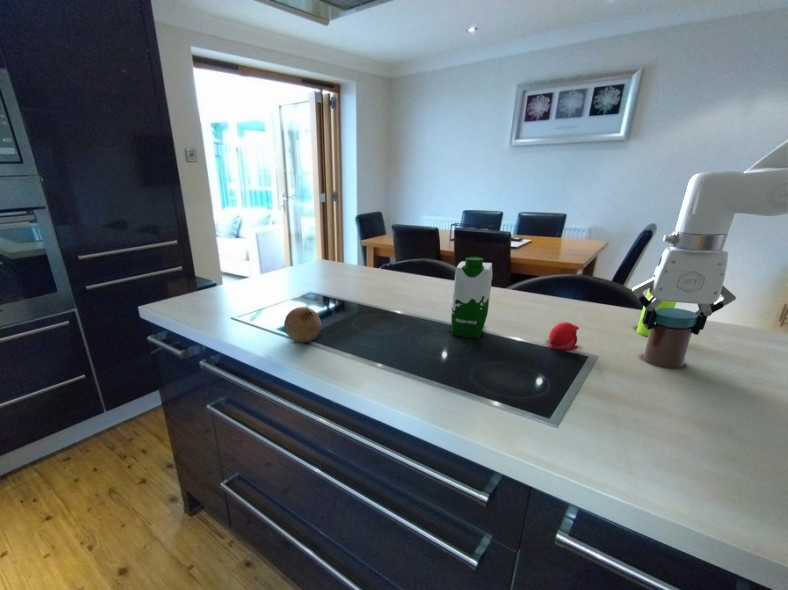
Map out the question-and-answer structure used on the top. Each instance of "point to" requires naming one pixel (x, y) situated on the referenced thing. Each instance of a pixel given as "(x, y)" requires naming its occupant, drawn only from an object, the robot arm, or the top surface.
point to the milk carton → (471, 297)
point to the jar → (667, 345)
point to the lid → (675, 317)
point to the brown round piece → (302, 324)
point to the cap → (563, 337)
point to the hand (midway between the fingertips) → (670, 329)
